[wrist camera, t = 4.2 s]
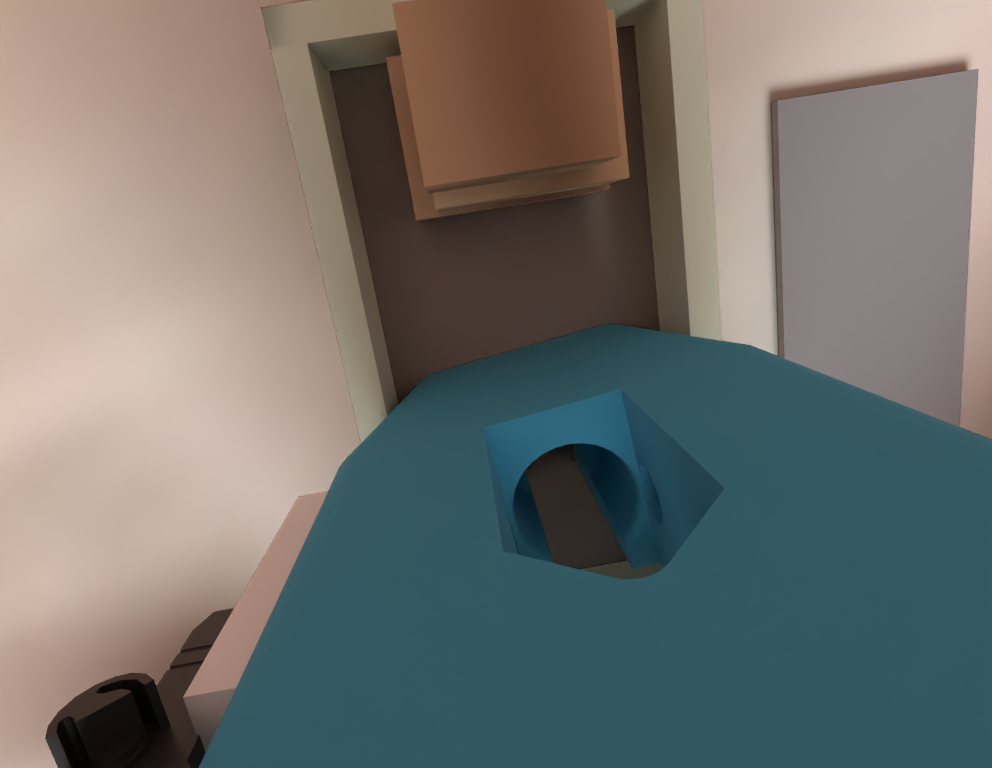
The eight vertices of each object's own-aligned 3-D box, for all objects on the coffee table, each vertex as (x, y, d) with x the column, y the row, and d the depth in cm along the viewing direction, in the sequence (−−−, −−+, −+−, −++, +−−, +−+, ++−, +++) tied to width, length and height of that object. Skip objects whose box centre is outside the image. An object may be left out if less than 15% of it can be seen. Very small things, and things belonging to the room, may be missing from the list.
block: (675, 304, 22) (2406, 889, 2) (699, 427, 23) (1951, 1435, 4) (361, 393, 22) (-333, 1667, 2) (403, 511, 23) (159, 1943, 4)
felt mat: (782, 477, 24) (788, 481, 24) (771, 103, 20) (777, 100, 20) (949, 447, 24) (957, 451, 24) (968, 72, 20) (978, 68, 20)
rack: (418, 619, 24) (360, 1298, 9) (290, 41, 19) (-462, -830, 3) (703, 568, 25) (1123, 1134, 9) (661, -15, 19) (1547, -1041, 4)
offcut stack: (420, 221, 20) (402, 217, 13) (393, 79, 19) (358, -12, 12) (591, 193, 21) (666, 174, 13) (575, 51, 19) (649, -55, 12)
